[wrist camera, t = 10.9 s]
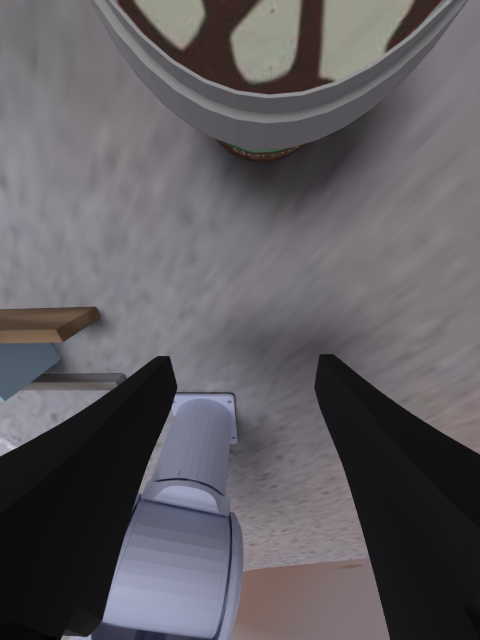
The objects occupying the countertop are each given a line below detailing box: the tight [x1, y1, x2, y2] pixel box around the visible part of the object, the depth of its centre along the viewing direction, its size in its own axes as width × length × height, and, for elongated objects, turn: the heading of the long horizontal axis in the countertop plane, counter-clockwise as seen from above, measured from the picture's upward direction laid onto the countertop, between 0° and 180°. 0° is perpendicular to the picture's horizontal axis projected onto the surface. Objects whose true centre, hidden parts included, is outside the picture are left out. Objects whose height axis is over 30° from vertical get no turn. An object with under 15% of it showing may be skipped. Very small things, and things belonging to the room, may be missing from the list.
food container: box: [90, 0, 468, 162], centre depth 9 cm, size 12×6×10 cm, turn 106°
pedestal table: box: [0, 307, 125, 390], centre depth 20 cm, size 10×16×4 cm, turn 93°
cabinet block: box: [0, 342, 61, 402], centre depth 20 cm, size 6×5×6 cm
